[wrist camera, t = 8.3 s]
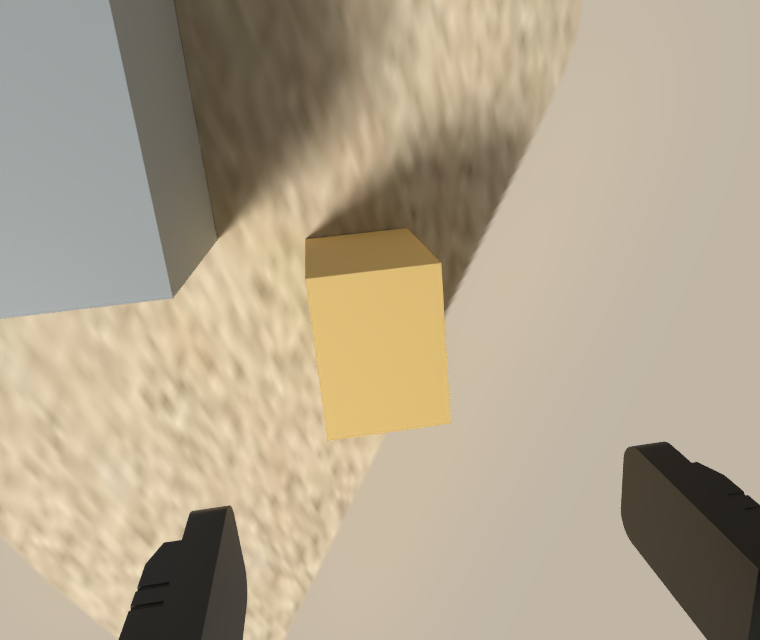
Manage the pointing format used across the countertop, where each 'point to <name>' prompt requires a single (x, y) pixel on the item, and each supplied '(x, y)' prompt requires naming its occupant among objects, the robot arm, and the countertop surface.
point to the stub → (377, 332)
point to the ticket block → (96, 157)
